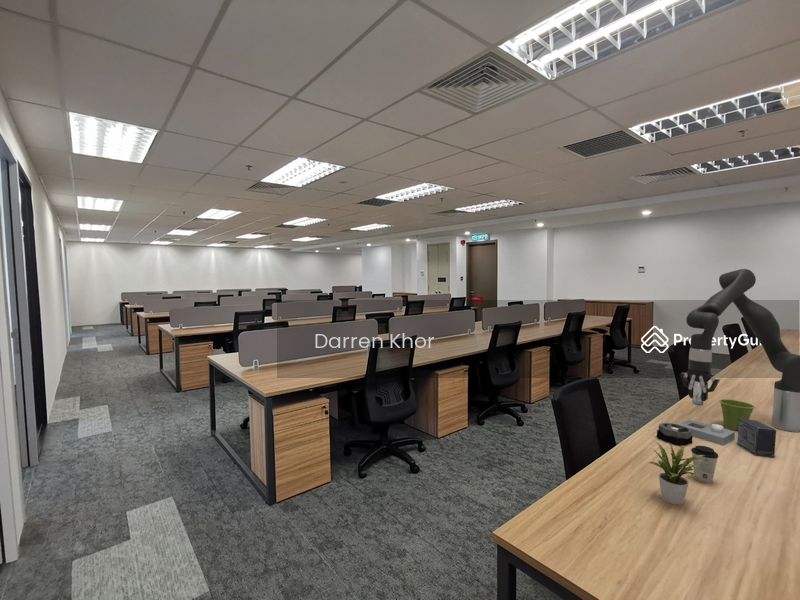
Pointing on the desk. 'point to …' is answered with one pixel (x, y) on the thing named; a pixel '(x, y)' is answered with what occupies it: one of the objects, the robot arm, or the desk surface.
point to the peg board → (709, 432)
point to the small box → (756, 437)
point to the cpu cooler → (674, 434)
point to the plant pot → (735, 412)
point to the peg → (697, 394)
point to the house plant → (674, 475)
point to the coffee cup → (704, 463)
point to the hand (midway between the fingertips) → (697, 399)
